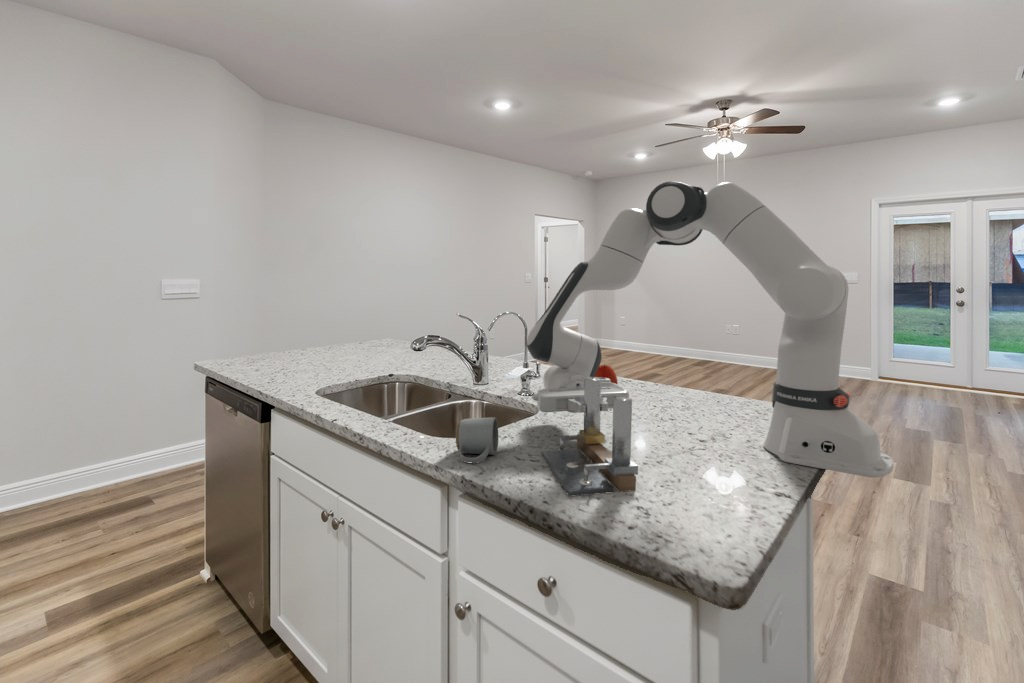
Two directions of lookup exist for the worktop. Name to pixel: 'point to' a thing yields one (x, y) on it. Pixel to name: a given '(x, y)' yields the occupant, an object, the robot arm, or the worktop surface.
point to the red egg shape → (606, 373)
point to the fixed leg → (619, 442)
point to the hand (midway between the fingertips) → (593, 408)
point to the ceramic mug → (477, 438)
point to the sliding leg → (589, 415)
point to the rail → (598, 456)
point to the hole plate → (575, 472)
